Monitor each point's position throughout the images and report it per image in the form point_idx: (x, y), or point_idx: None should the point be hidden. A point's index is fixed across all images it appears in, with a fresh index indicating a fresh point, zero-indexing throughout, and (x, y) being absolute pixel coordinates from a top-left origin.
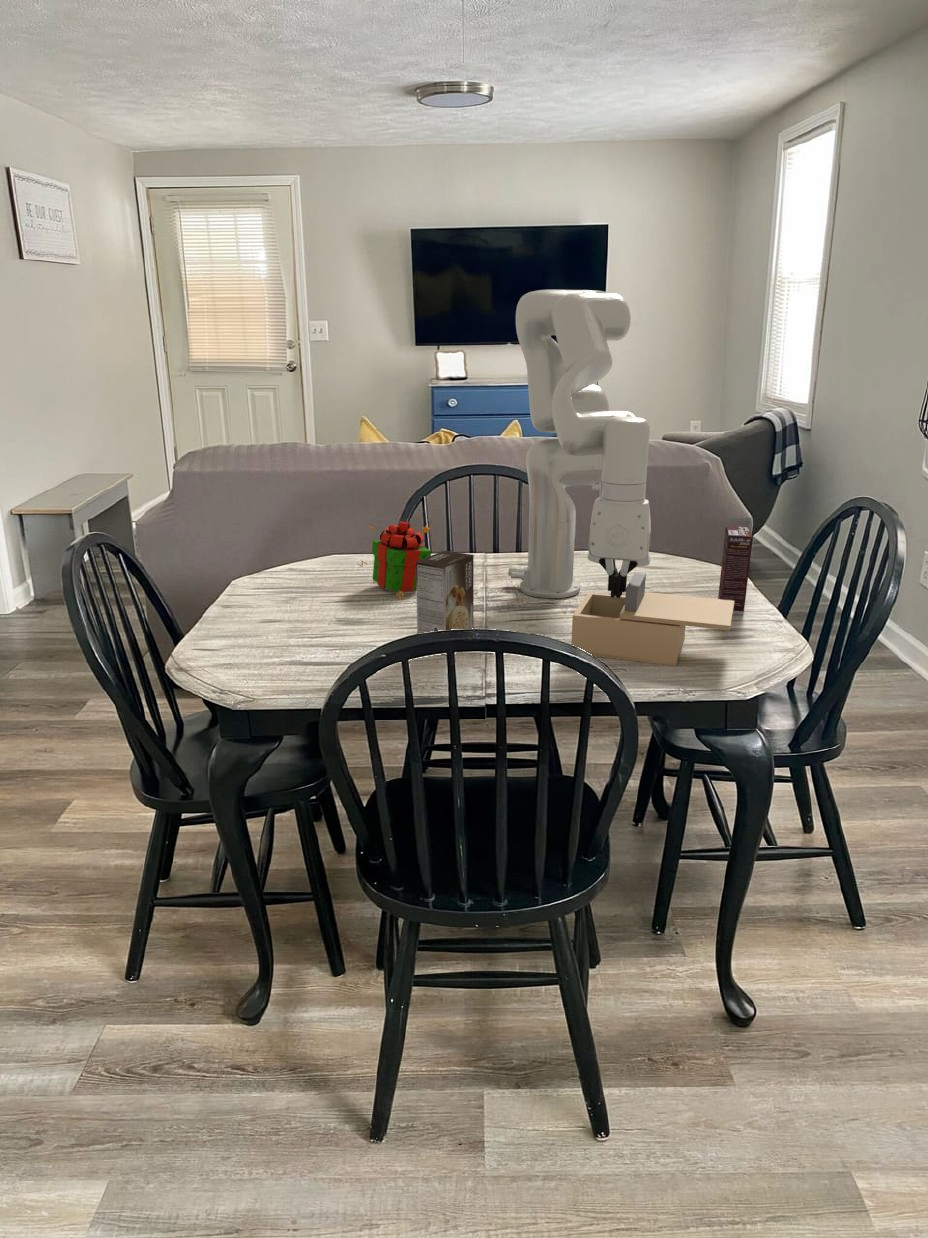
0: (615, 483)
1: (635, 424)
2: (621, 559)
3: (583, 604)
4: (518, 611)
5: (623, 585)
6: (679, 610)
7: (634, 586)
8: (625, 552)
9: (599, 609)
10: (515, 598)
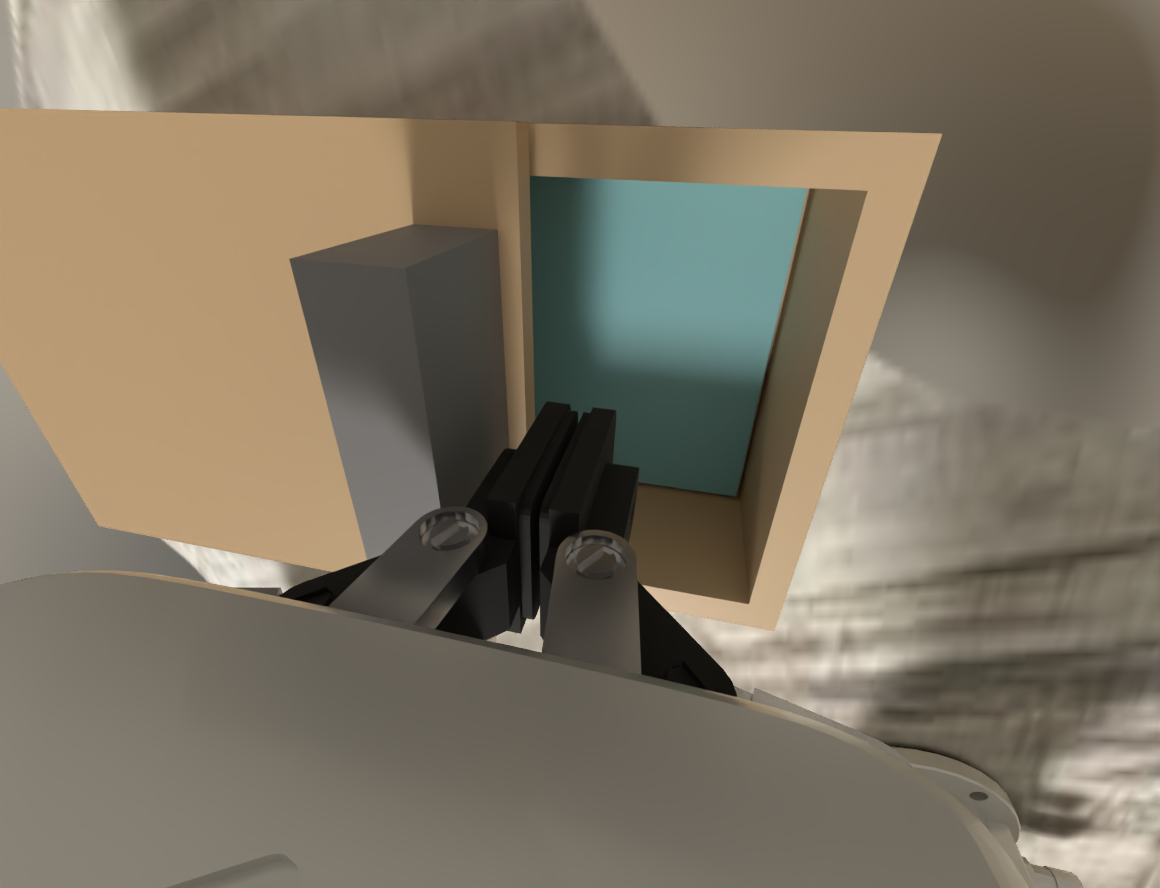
0: None
1: None
2: (351, 614)
3: (816, 431)
4: (1067, 645)
5: (500, 473)
6: (204, 335)
7: (353, 356)
8: (171, 716)
9: (705, 540)
10: (1048, 754)
